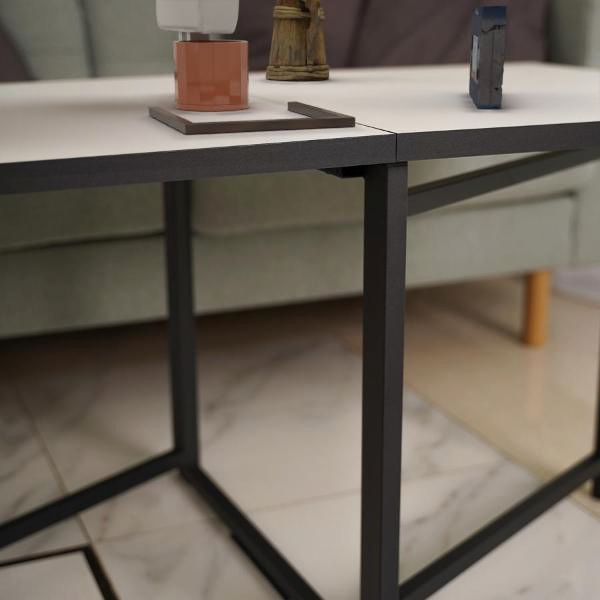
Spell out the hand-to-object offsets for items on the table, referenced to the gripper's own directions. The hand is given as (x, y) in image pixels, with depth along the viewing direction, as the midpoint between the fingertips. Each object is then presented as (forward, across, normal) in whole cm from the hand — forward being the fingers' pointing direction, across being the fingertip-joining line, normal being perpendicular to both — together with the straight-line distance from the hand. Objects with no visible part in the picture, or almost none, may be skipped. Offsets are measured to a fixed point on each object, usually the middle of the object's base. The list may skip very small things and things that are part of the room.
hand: (195, 76), depth 98 cm
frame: (+3, +18, 0) cm, 18 cm away
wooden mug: (+3, -25, +22) cm, 33 cm away
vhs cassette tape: (+3, +9, +30) cm, 32 cm away
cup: (+3, +6, 0) cm, 7 cm away
